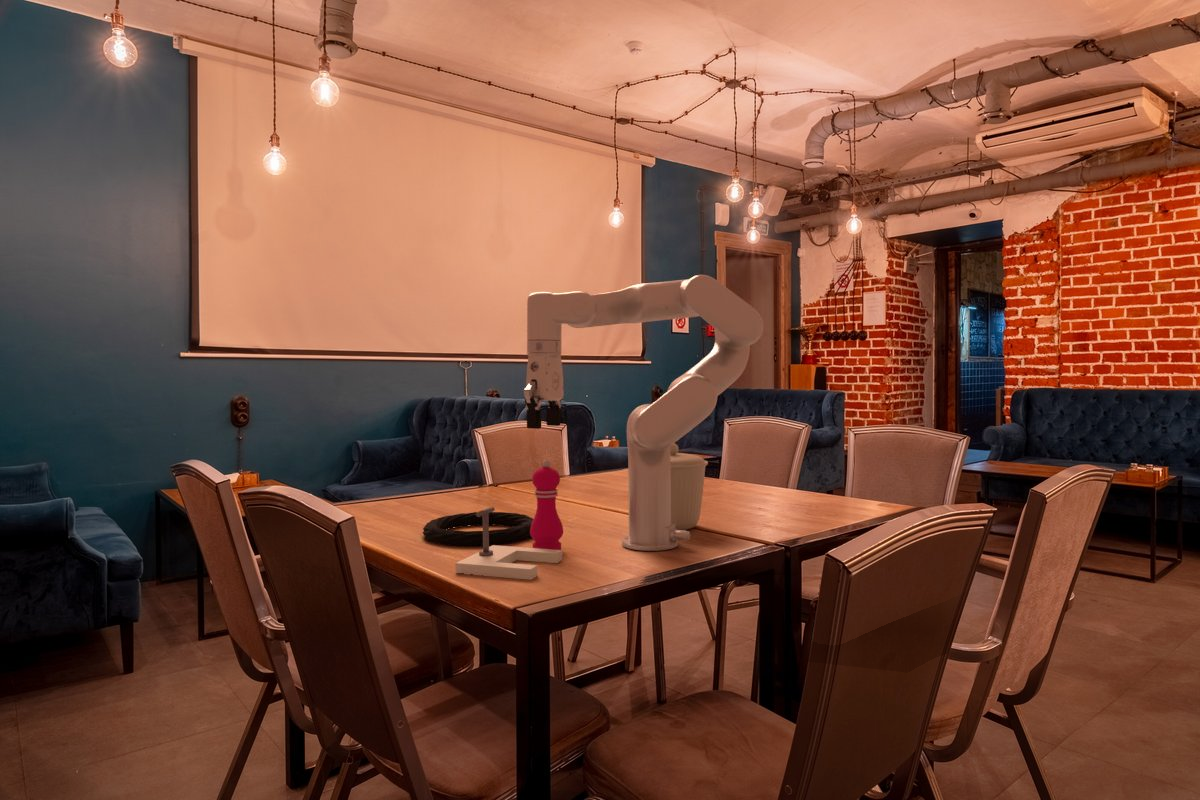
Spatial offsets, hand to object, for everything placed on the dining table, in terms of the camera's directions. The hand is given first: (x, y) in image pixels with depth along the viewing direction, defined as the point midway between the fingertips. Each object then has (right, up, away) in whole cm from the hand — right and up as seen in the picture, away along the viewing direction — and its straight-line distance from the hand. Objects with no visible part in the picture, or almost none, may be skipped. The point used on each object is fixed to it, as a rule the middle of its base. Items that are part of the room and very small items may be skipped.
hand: (543, 426), depth 168 cm
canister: (+30, -26, +23) cm, 46 cm away
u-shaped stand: (-6, -28, -14) cm, 32 cm away
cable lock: (-15, -27, +16) cm, 35 cm away
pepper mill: (+1, -27, -2) cm, 27 cm away
